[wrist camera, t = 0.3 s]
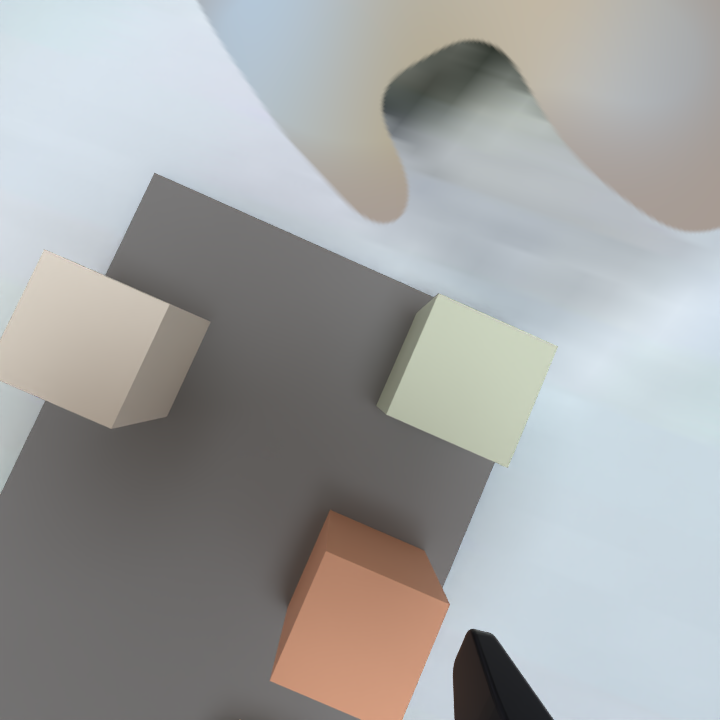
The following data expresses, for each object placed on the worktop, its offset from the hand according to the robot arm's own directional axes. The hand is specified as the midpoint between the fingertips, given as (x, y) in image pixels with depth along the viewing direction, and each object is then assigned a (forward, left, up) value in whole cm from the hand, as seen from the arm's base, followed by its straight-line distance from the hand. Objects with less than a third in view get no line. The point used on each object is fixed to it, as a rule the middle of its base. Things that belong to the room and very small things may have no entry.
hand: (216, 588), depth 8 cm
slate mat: (-2, +4, -14) cm, 15 cm away
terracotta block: (-7, -1, -13) cm, 15 cm away
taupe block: (+7, +5, -13) cm, 16 cm away
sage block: (+1, -8, -13) cm, 16 cm away
